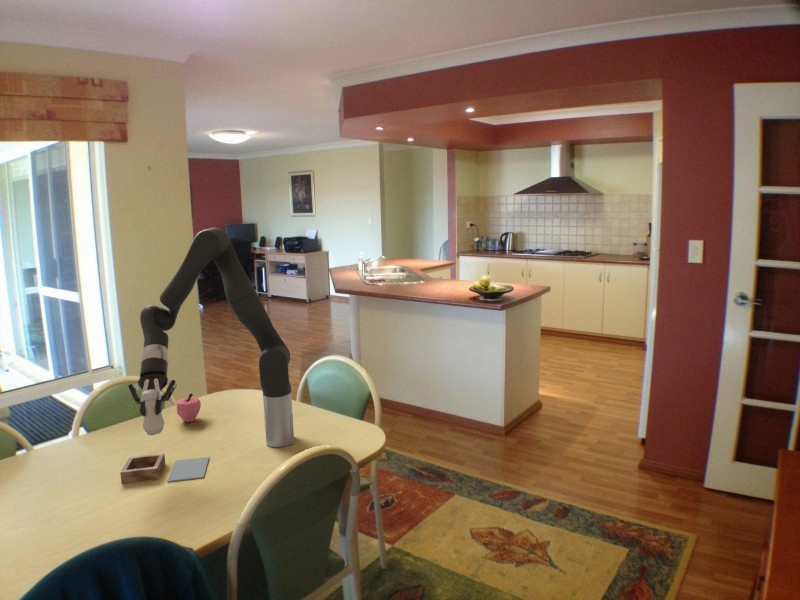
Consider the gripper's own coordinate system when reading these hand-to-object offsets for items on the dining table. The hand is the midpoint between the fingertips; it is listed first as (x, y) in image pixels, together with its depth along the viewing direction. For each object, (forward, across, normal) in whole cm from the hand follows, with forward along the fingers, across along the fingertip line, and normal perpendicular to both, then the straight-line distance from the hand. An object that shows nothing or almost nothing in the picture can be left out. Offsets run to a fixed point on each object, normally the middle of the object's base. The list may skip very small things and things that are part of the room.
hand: (150, 414), depth 159 cm
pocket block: (+12, -4, +15) cm, 20 cm away
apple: (-15, +3, +43) cm, 46 cm away
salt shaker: (+3, 0, +6) cm, 7 cm away
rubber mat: (+13, +8, +15) cm, 21 cm away
